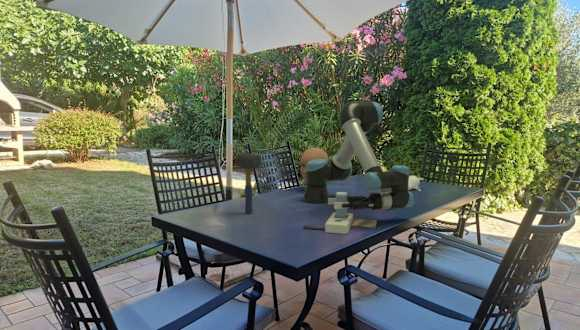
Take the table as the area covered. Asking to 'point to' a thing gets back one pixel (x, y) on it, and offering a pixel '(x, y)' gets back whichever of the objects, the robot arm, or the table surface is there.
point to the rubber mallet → (248, 174)
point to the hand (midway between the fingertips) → (331, 203)
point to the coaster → (364, 223)
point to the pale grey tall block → (341, 198)
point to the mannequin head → (311, 158)
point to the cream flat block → (335, 224)
